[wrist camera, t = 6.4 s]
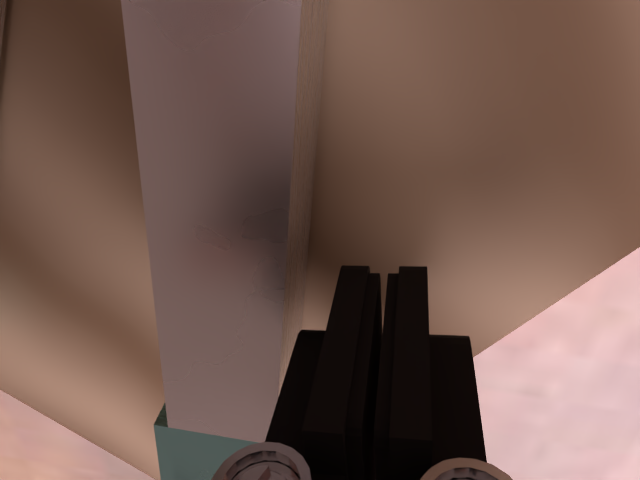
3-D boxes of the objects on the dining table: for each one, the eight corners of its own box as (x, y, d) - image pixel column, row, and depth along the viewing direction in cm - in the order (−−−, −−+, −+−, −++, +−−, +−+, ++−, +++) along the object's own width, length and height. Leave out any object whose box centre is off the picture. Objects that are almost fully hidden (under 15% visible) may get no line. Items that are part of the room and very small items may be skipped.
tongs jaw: (166, -395, 6) (16, -612, 4) (361, -384, 6) (336, -606, 4) (205, 393, 14) (162, 495, 11) (295, 408, 14) (271, 514, 11)
